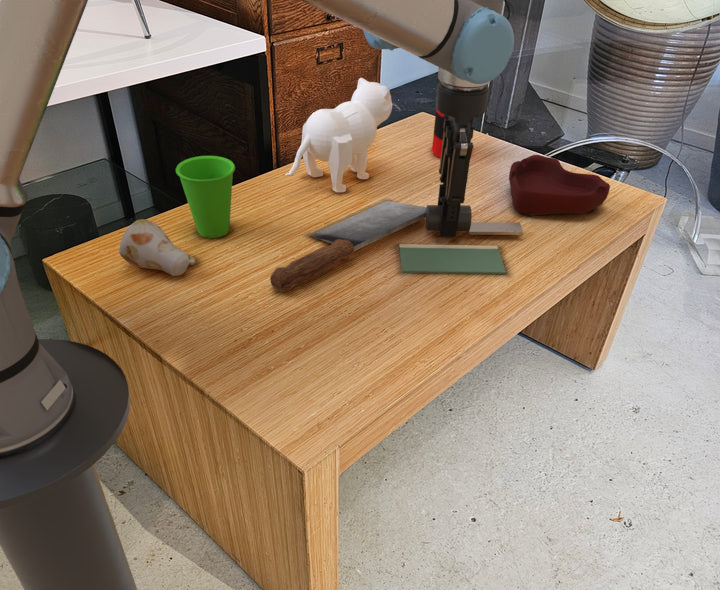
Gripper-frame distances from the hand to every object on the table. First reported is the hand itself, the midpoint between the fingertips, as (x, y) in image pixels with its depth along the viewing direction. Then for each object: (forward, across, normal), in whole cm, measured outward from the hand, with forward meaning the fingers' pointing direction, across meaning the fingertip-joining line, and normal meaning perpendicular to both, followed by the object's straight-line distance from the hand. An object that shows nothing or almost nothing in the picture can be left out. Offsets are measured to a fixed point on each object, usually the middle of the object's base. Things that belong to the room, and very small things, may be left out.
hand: (445, 228), depth 109 cm
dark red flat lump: (+1, +12, -20) cm, 23 cm away
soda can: (+1, +34, -5) cm, 35 cm away
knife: (0, 0, -5) cm, 5 cm away
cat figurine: (+1, +20, +18) cm, 27 cm away
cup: (+1, 0, +38) cm, 39 cm away
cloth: (+1, -8, 0) cm, 8 cm away
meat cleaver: (+1, -4, +17) cm, 18 cm away
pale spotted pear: (+1, -11, +45) cm, 46 cm away
